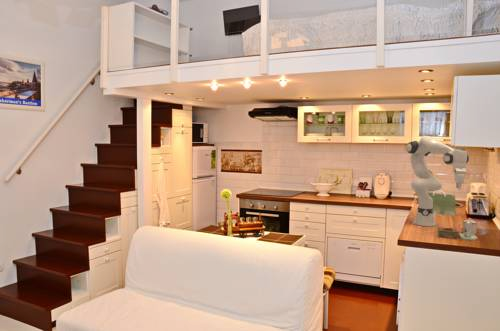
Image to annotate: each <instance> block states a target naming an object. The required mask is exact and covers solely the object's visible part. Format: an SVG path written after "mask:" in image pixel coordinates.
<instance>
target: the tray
mask: <svg viewBox="0 0 500 331" xmlns="http://www.w3.org/2000/svg"><path fill="white" fill-rule="evenodd" d="M458 238H460V240H464V241H470V242H471V241H474V242H477V241H478V237H477V236H476V234H475V235H474V234H471V237H464V233H463V232H461V233H460V232H458Z"/></svg>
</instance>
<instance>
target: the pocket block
mask: <svg viewBox="0 0 500 331" xmlns="http://www.w3.org/2000/svg"><path fill="white" fill-rule="evenodd" d="M437 235H438V237H439V238H444V239H452V240H458V239H459V231H458V229H457V228H451V227H442V226H441V227H440V226H437Z"/></svg>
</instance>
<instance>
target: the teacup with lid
mask: <svg viewBox="0 0 500 331" xmlns="http://www.w3.org/2000/svg"><path fill="white" fill-rule="evenodd" d="M465 221H469V222H472V231H471V234H474V235H475V236H476V234H477V221H475V220H473V219H472V218H470V217H468V219H466V220H463V222H461V223H459V224H458V228H459V230H461V231H462V233H464V231H465ZM461 225H463V226H462V228H461Z"/></svg>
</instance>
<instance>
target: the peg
mask: <svg viewBox="0 0 500 331" xmlns="http://www.w3.org/2000/svg"><path fill="white" fill-rule="evenodd" d="M471 231H472V222H469V221H465V231H464V237H471Z"/></svg>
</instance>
